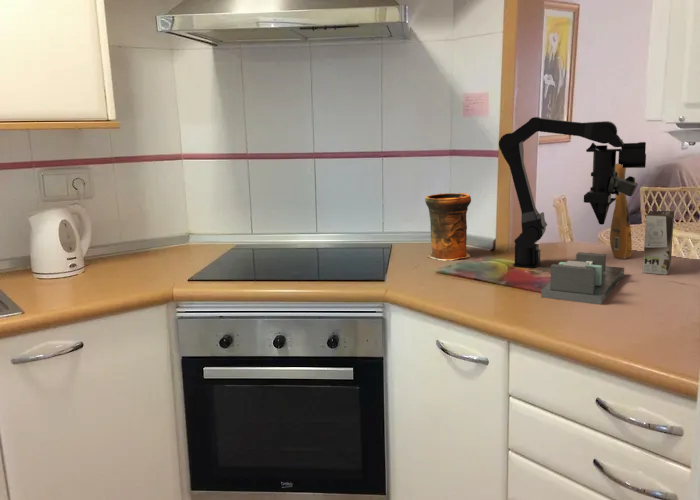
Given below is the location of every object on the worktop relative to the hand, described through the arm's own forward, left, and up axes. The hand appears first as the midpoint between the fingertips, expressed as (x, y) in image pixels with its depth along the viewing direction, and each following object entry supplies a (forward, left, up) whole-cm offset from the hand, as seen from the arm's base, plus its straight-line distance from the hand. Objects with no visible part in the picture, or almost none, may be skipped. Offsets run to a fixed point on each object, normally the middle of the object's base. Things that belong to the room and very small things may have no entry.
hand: (601, 224), depth 170 cm
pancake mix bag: (+1, +22, -13) cm, 26 cm away
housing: (0, -27, -11) cm, 30 cm away
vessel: (-46, -1, -13) cm, 48 cm away
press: (0, -18, -13) cm, 22 cm away
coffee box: (+14, +5, -13) cm, 20 cm away
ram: (0, -18, -11) cm, 21 cm away
